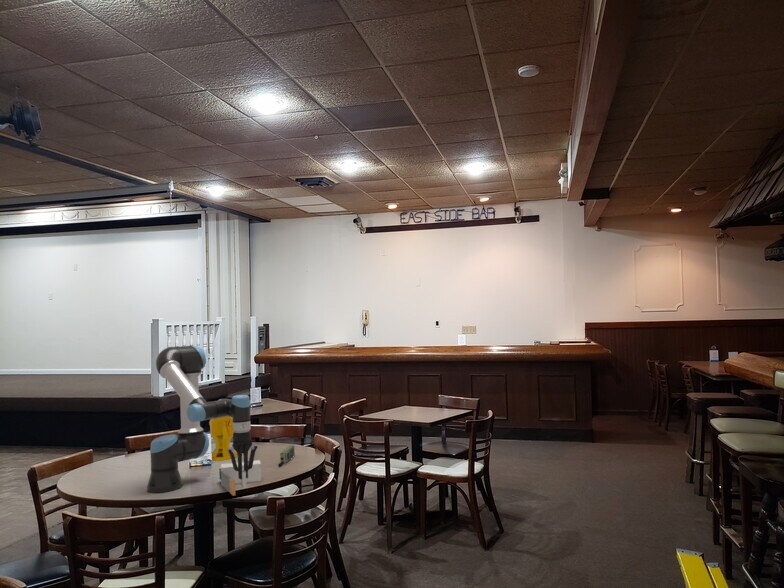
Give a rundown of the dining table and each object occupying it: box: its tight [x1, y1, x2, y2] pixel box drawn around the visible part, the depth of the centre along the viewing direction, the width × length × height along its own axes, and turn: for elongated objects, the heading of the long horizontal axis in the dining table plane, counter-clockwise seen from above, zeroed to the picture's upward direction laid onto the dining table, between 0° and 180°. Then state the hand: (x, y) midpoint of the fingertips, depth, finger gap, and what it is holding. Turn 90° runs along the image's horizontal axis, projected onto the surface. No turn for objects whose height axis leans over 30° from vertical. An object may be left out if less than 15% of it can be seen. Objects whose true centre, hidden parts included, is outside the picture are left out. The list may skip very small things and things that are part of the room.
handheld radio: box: [277, 444, 296, 467], centre depth 309 cm, size 7×3×25 cm
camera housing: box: [218, 459, 262, 485], centre depth 272 cm, size 19×8×9 cm, turn 107°
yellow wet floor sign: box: [208, 416, 238, 462], centre depth 325 cm, size 18×24×28 cm
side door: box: [220, 470, 236, 497], centre depth 254 cm, size 23×1×6 cm, turn 29°
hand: (243, 486), depth 249 cm, fingers closed
